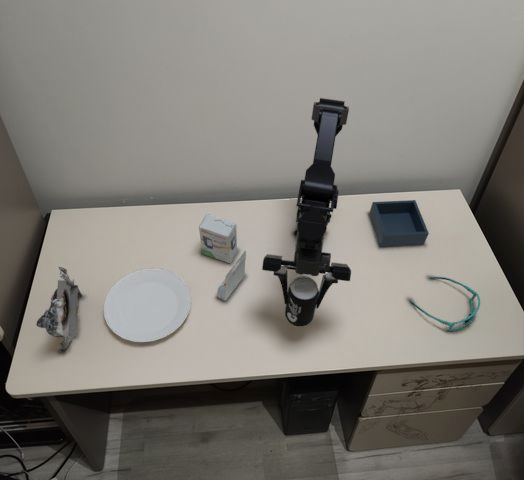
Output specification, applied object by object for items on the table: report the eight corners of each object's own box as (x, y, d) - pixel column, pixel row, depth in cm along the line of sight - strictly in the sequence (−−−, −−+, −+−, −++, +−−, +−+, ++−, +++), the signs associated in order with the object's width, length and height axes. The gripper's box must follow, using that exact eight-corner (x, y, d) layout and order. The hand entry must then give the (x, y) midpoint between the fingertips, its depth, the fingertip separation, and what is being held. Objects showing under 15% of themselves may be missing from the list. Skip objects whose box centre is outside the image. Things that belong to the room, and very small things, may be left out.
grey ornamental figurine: (65, 297, 121) (50, 266, 111) (83, 297, 122) (69, 266, 111) (53, 353, 112) (35, 325, 102) (73, 352, 112) (56, 324, 102)
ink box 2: (216, 298, 123) (215, 271, 114) (236, 272, 128) (236, 245, 119) (226, 303, 122) (225, 276, 113) (245, 277, 127) (246, 250, 118)
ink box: (237, 251, 133) (237, 222, 123) (229, 265, 130) (229, 236, 120) (209, 241, 134) (207, 212, 125) (200, 254, 131) (197, 226, 122)
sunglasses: (458, 342, 117) (463, 331, 114) (404, 308, 125) (407, 297, 121) (484, 306, 124) (490, 294, 121) (431, 276, 131) (436, 264, 128)
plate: (97, 288, 123) (95, 283, 122) (177, 263, 129) (176, 258, 127) (115, 359, 111) (113, 354, 110) (203, 328, 117) (202, 323, 116)
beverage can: (313, 328, 110) (320, 301, 101) (284, 327, 110) (288, 300, 101) (312, 303, 115) (319, 275, 105) (284, 302, 114) (288, 273, 105)
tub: (379, 247, 135) (383, 235, 131) (369, 213, 143) (372, 201, 139) (423, 245, 136) (428, 233, 132) (410, 211, 144) (415, 199, 140)
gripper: (265, 233, 97) (255, 309, 99) (358, 245, 96) (348, 322, 98) (268, 228, 108) (260, 297, 110) (352, 239, 107) (342, 308, 109)
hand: (301, 306), depth 106 cm, fingers closed on beverage can, 6 cm apart
